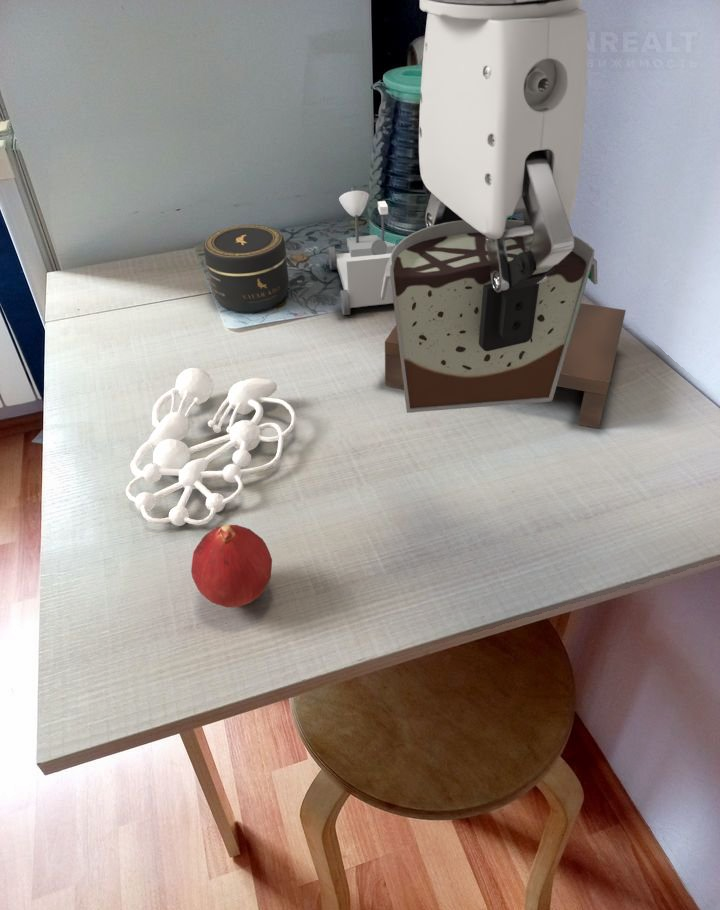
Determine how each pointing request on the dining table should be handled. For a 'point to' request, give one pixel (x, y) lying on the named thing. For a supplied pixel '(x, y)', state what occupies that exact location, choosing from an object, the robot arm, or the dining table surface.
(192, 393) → the tangled rod sculpture
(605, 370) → the shelf
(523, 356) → the food container
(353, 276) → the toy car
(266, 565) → the onion
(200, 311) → the dining table surface
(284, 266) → the jar
